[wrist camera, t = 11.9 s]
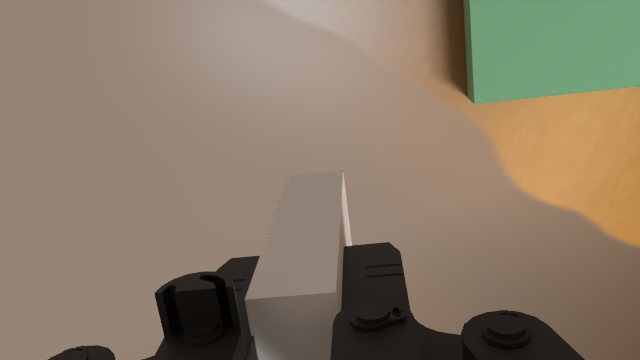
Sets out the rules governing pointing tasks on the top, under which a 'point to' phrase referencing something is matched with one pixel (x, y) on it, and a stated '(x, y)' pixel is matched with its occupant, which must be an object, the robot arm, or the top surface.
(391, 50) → the top surface
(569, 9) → the putting board
